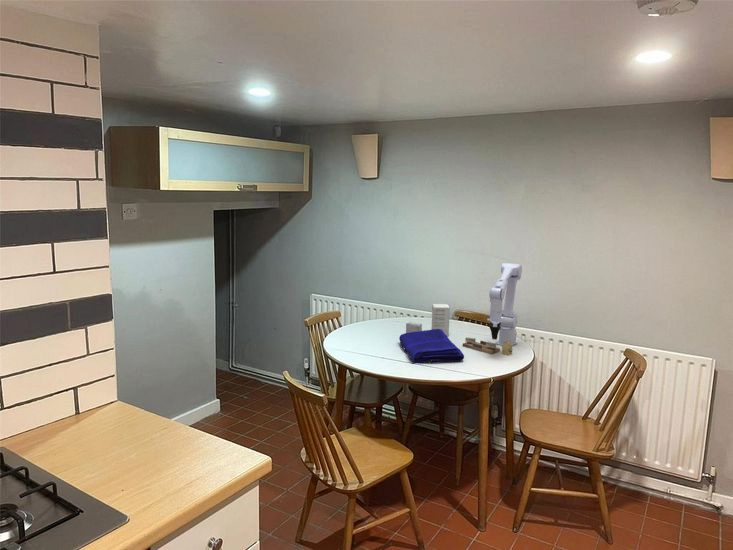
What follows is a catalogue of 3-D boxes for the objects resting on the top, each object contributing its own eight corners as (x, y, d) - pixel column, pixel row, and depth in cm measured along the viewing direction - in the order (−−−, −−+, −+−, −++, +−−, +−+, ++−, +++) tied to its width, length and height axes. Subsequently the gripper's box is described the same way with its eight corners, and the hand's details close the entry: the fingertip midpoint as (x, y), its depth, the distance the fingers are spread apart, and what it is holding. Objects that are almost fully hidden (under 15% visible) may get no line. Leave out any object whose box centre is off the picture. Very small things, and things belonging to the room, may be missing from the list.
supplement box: (449, 336, 306) (450, 307, 303) (432, 336, 306) (433, 307, 303) (446, 331, 315) (448, 303, 312) (431, 331, 315) (432, 303, 312)
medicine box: (421, 338, 301) (422, 323, 300) (418, 340, 297) (418, 325, 296) (409, 336, 305) (409, 321, 304) (405, 338, 301) (405, 323, 300)
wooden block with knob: (505, 352, 279) (506, 340, 278) (512, 354, 275) (513, 342, 274) (501, 353, 276) (502, 342, 275) (508, 355, 273) (509, 344, 272)
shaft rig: (471, 343, 293) (471, 335, 292) (499, 351, 280) (500, 342, 279) (462, 346, 288) (462, 338, 287) (490, 354, 275) (491, 345, 274)
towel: (412, 365, 258) (412, 347, 257) (397, 343, 293) (397, 327, 291) (465, 363, 262) (466, 345, 260) (444, 341, 297) (444, 326, 295)
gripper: (488, 307, 279) (487, 332, 281) (487, 313, 265) (485, 340, 268) (502, 308, 277) (501, 333, 280) (501, 315, 263) (500, 341, 266)
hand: (494, 337), depth 273 cm, fingers open, 7 cm apart
